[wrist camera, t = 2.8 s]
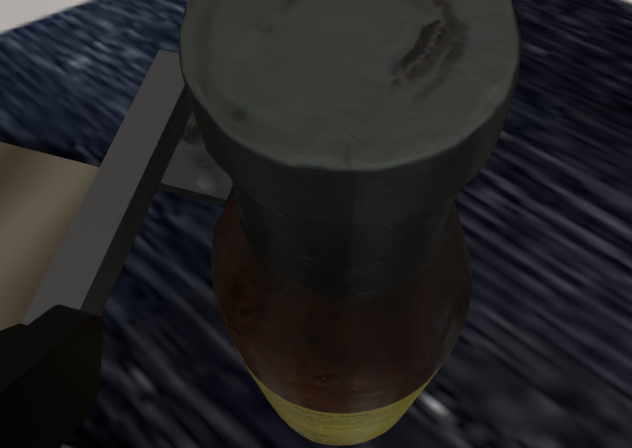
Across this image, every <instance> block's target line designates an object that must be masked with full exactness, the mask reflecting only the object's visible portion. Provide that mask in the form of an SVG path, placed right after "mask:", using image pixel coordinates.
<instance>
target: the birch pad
mask: <svg viewBox="0 0 632 448" xmlns="http://www.w3.org/2000/svg"><path fill="white" fill-rule="evenodd" d="M99 168H100V167H96V166H93V165H89V164H85V163H81V162H77V161H73V160H69V159H65V158H61V157H57V156H53V155H50V154H46V153H42V152H38V151H34V150H30V149H26V148H22V147H18V146H14V145H11V144H7V143H3V142H0V330H3V329H6V328H8V327H11V326H14V325H16V324H19V323H21V322H22V320H23V318H24V316H25V314H26V312H27V310H28V308H29V306H30V304H31V302H32V300H33V298H34V296H35V294H36V292H37V290H38V288H39V286H40V284H41V282H42V280H43V279H44V277H45V275H46V273H47V271H48V269H49V267H50V265H51V263H52V261H53V259H54V257H55V255H56V253H57V251H58V249H59V247H60V245H61V243H62V241H63V239H64V237H65V235H66V233H67V231H68V229H69V227H70V225H71V223H72V221H73V219H74V217H75V215H76V213H77V211H78V209H79V207H80V205H81V203H82V202H83V200H84V198H85V196H86V194H87V192H88V190H89V188H90V186H91V184H92V182H93V180H94V178H95V176H96V174H97V172H98V170H99Z"/></svg>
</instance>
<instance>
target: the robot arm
mask: <svg viewBox="0 0 632 448" xmlns="http://www.w3.org/2000/svg"><path fill="white" fill-rule="evenodd" d="M102 333H103V323H102V319H101V317H100V316H99V315H96V314H92V313H89V312H85V311H82V310H78V309H75V308H71V307H68V306H64V305H60V304H59V305H55V306H53V307H51V308H50V309H49V310H47V311H46V312H45V313H43V314H42V315H41V316H39V317H38V318H36V319H35V320H34V321H32V322H31V323H30V324H28V325H25V324H22V323H19V324H16V325H14V326H11V327H8V328H6V329H3V330H0V448H61V446H62V445H63V444H64V443H65V442H66V441H67V440H68V438H69V437H70V436H71V435H72V434H73V433H74V432H75V431H76V429H77V428H78V427H79V426H80V425H81V424H82V423H83V421H84V420H85V419H86V418H87V416H88V415H89V413H90V411H91V409H92V407H93V405H94V403H95V401H96V398H97V395H98V391H99V385H100V369H101V351H102Z"/></svg>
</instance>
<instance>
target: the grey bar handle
mask: <svg viewBox="0 0 632 448" xmlns="http://www.w3.org/2000/svg"><path fill="white" fill-rule="evenodd" d="M157 189H160V190H164V191H168V192H172V193H176V194H180V195H184V196H188V197H192V198H195V199H199V200H203V201H207V202H211V203H215V204H219V205H223V206H226V205H227V203H228V202H229V201H230V199H231V198H232V197H233V195H234V193H235V192H236V191H235V189H234V186H233V183H232V179H231V178H230V177H229V175H228V174H227V173H226V172H225V171H223V170H222V169H221V168H220V167H219V166H218V165H217V163H216V162H215V160H214V159H213V158H212V157H211V156H210V155H209V153H208V152H207V151H206V148H205V145H204V142H203V139H202V136H201V134H200V131H199V129H198V127H197V122H196V119H195V117H194V114H193V111H192V108H191V105H190V102H189V98H188V95H187V91H186V87H185V84H184V80H183V76H182V72H181V68H180V60H179V54H177V53H173V52H168V51H164V50H159V51H158V53H157V55H156V57H155V59H154V61H153V63H152V65H151V67H150V69H149V71H148V73H147V75H146V77H145V79H144V81H143V83H142V85H141V87H140V89H139V91H138V93H137V95H136V97H135V99H134V101H133V103H132V105H131V107H130V109H129V111H128V113H127V115H126V117H125V119H124V121H123V123H122V124H121V126H120V128H119V130H118V132H117V134H116V136H115V138H114V140H113V142H112V144H111V146H110V148H109V150H108V152H107V154H106V156H105V158H104V160H103V162H102V164H101V166H100V168H99V170H98V172H97V174H96V176H95V178H94V180H93V182H92V184H91V186H90V188H89V190H88V192H87V194H86V196H85V198H84V200H83V202H82V203H81V205H80V207H79V209H78V211H77V213H76V215H75V217H74V219H73V221H72V223H71V225H70V227H69V229H68V231H67V233H66V235H65V237H64V239H63V241H62V243H61V245H60V247H59V249H58V251H57V253H56V255H55V257H54V259H53V261H52V263H51V265H50V267H49V269H48V271H47V273H46V275H45V277H44V279H43V280H42V282H41V284H40V286H39V288H38V290H37V292H36V294H35V296H34V298H33V300H32V302H31V304H30V306H29V308H28V310H27V312H26V314H25V316H24V318H23V320H22V322H21V323H22V324H25V325H28V324H30V323H31V322H32V321H34V320H35V319H36V318H38V317H39V316H41V315H42V314H43V313H45V312H46V311H47V310H49V309H50V308H51V307H53V306H55V305H59V304H60V305H64V306H68V307H71V308H75V309H78V310H82V311H85V312H89V313H92V314H96V315H99V316H101V314H102V311H103V309H104V307H105V305H106V302H107V300H108V298H109V296H110V294H111V291H112V289H113V287H114V285H115V282H116V280H117V278H118V276H119V274H120V271H121V269H122V267H123V265H124V263H125V260H126V258H127V256H128V254H129V251H130V249H131V247H132V245H133V243H134V240H135V238H136V236H137V234H138V231H139V229H140V227H141V225H142V223H143V220H144V218H145V216H146V214H147V211H148V209H149V207H150V205H151V203H152V200H153V198H154V196H155V194H156V191H157ZM61 448H77V447H74V446H71V445H68V444H65V443H64V444H63V445H62V446H61Z"/></svg>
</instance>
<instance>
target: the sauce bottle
mask: <svg viewBox="0 0 632 448" xmlns="http://www.w3.org/2000/svg"><path fill="white" fill-rule="evenodd" d="M521 45H522V40H521V35H520V31H519V26H518V22H517V17H516V14H515V11H514V7H513V4H512V1H511V0H189V1H188V2H187V4H186V6H185V16H184V19H183V22H182V24H181V27H180V38H179V60H180V68H181V72H182V76H183V80H184V84H185V87H186V91H187V95H188V98H189V102H190V105H191V108H192V111H193V114H194V117H195V119H196V122H197V127H198V129H199V131H200V134H201V136H202V139H203V142H204V145H205V148H206V151H207V152H208V153H209V155H210V156H211V157H212V158H213V159H214V160H215V162H216V163H217V165H218V166H219V167H220V168H221V169H222V170H223V171H225V172H226V173H227V174H228V175H229V177H230V178H231V179H232V183H233V186H234V189H235V191H236V192H235V193H234V195H233V197H232V198H231V199H230V201H229V202H228V203H227V205H226V207H225V209H224V211H223V213H222V214H221V215H220V217H219V219H218V221H217V223H216V225H215V227H214V230H213V233H214V239H213V256H212V270H211V275H212V279H213V289H214V295H215V300H216V305H217V307H218V310H219V313H220V315H221V318H222V319H223V321H224V323H225V326H226V330H227V332H228V334H229V336H230V337H231V338H232V340H233V343H234V346H235V348H236V350H237V351H238V353H239V355H240V356H241V358H242V359H243V361H244V364H245V366H246V368H247V369H248V371H249V372H250V374H251V375H252V377H253V378H254V380H255V381H256V382H257V384H258V385H259V387H260V388H261V390H262V392H263V393H264V394H265V396H266V398H267V399H268V401H269V402H270V404H271V405H272V406H273V408H274V409H275V410H276V412H277V413H278V414H279V416H280V417H281V418H282V419H283V420H284V421H285V422H286V423H287V424H288V425H289V426H290V427H291V428H292V429H294V430H295V431H296V432H298V433H299V434H301V435H302V436H304V437H306V438H308V439H310V440H312V441H314V442H318V443H322V444H330V445H337V446H338V445H353V444H358V443H363V442H366V441H368V440H371V439H373V438H375V437H377V436H379V435H381V434H383V433H384V432H386V431H387V430H389V429H390V428H391V427H392V426H393V425H394V424H395V423H396V422H397V421H398V420H399V419H400V418H401V417H402V416H403V415H404V413H405V412H406V411H407V410H408V408H409V407H410V406H411V404H412V403H413V402H414V400H415V399H416V398H417V397H418V395H419V394H420V393H421V392H422V390H423V389H424V388H425V386H426V385H427V384H428V382H429V381H430V380H431V379H432V377H433V376H434V375H435V373H436V372H437V371H438V369H439V368H440V367H441V365H442V364H443V363H444V361H445V360H446V358H447V357H448V355H449V354H450V352H451V350H452V348H453V347H454V345H455V343H456V341H457V339H458V337H459V335H460V333H461V331H462V328H463V325H464V322H465V319H466V316H467V313H468V309H469V303H470V298H471V292H472V270H471V261H470V256H469V251H468V248H467V244H466V241H465V237H464V234H463V230H462V226H461V223H460V219H459V216H458V212H457V209H456V205H455V202H454V201H455V199H456V198H457V195H458V192H459V191H460V190H461V189H462V188H463V187H464V186H465V185H466V184H467V183H468V182H469V181H471V180H472V179H473V178H474V177H475V176H476V174H477V173H478V172H479V171H480V170H481V168H482V167H483V166H484V164H485V163H486V162H487V160H488V158H489V156H490V154H491V152H492V150H493V149H494V147H495V145H496V143H497V141H498V138H499V136H500V133H501V131H502V129H503V126H504V123H505V120H506V116H507V113H508V108H509V105H510V102H511V99H512V96H513V93H514V90H515V88H516V85H517V82H518V76H519V66H520V56H521Z"/></svg>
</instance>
